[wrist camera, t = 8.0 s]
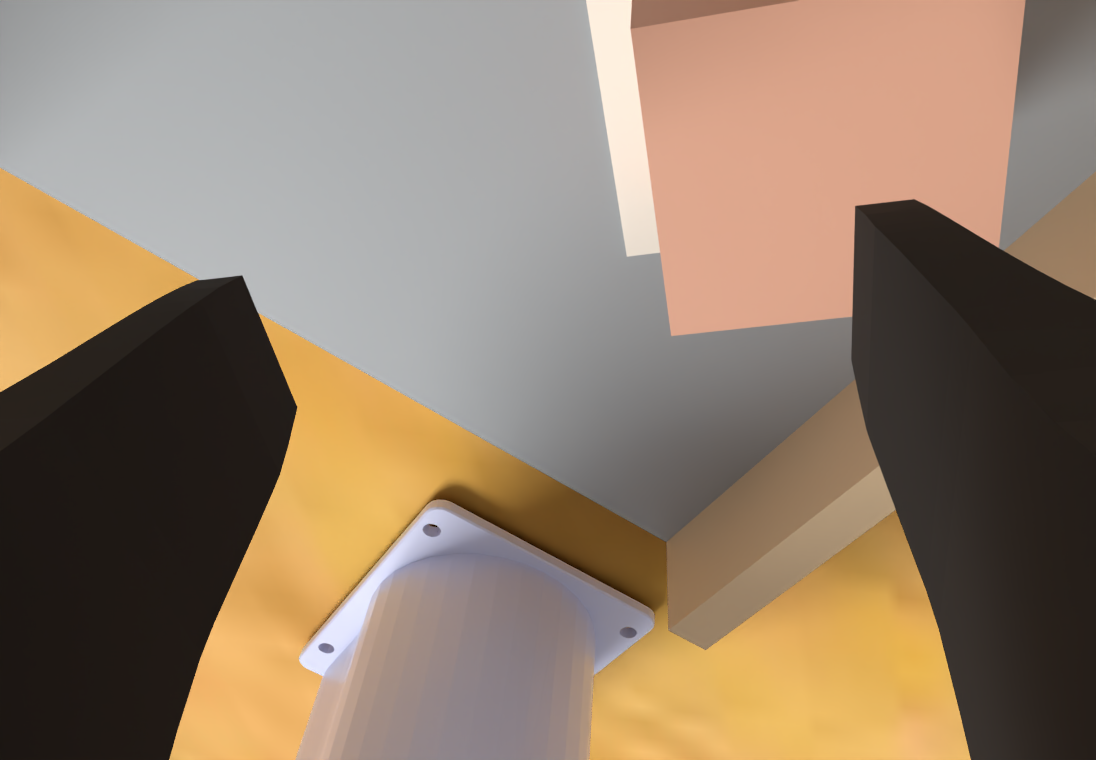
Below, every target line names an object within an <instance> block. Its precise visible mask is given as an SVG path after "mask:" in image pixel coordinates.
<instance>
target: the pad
mask: <svg viewBox="0 0 1096 760" xmlns="http://www.w3.org/2000/svg"><path fill="white" fill-rule="evenodd" d="M586 4H587V10H588V16H589V22H590V29H591V35H592V41H593V47H594V54H595V60H596V66H597V73H598V79H599V85H600V91H601V98H602V104H603V110H604V117H605V123H606V129H607V135H608V142H609V148H610V154H611V160H612V167H613V173H614V179H615V186H616V192H617V198H618V204H619V211H620V217H621V223H622V230H623V236H624V242H625V248H626V255H627V257H629V256H637V255H645V254H653V253H660V248H659V240H658V233H657V225H656V218H655V210H654V203H653V195H652V188H651V180H650V173H649V165H648V157H647V150H646V142H645V135H644V127H643V120H642V112H641V105H640V97H639V90H638V82H637V75H636V67H635V60H634V52H633V45H632V37H631V30H630V27H631V8H632V0H586Z"/></svg>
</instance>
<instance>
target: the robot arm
mask: <svg viewBox="0 0 1096 760" xmlns="http://www.w3.org/2000/svg"><path fill="white" fill-rule="evenodd" d="M851 361H852V366H853V371H854V376H855V380H856V385H857V390H858V395H859V399H860V404H861V408H862V413H863V417H864V421H865V426H866V430H867V433H868V436H869V439H870V442H871V444H872V447H873V450H874V453H875V455H876V458H877V461H878V463H879V466H880V469H881V472H882V474H883V477H884V480H885V482H886V485H887V488H888V490H889V493H890V496H891V498H892V501H893V504H894V506H895V509H896V512H897V514H898V517H899V519H900V522H901V525H902V527H903V530H904V533H905V535H906V538H907V541H908V543H909V546H910V549H911V551H912V554H913V556H914V559H915V562H916V564H917V567H918V570H919V572H920V575H921V578H922V580H923V583H924V586H925V588H926V591H927V594H928V597H929V600H930V603H931V606H932V609H933V613H934V616H935V619H936V622H937V625H938V628H939V632H940V636H941V640H942V644H943V647H944V651H945V655H946V659H947V663H948V667H949V671H950V675H951V679H952V683H953V687H954V691H955V695H956V699H957V703H958V707H959V711H960V715H961V719H962V723H963V728H964V732H965V736H966V740H967V744H968V749H969V753H970V757H971V760H1096V300H1095V299H1093V298H1091V297H1089V296H1087V295H1085V294H1083V293H1081V292H1079V291H1077V290H1075V289H1073V288H1071V287H1069V286H1067V285H1065V284H1063V283H1061V282H1059V281H1057V280H1055V279H1054V278H1052V277H1050V276H1048V275H1046V274H1044V273H1042V272H1040V271H1039V270H1037V269H1035V268H1033V267H1031V266H1030V265H1028V264H1026V263H1024V262H1022V261H1021V260H1019V259H1017V258H1015V257H1014V256H1012V255H1010V254H1008V253H1007V252H1005V251H1003V250H1002V249H1000V248H998V247H996V246H995V245H993V244H991V243H990V242H988V241H986V240H985V239H983V238H981V237H980V236H978V235H976V234H975V233H973V232H971V231H970V230H968V229H966V228H965V227H963V226H961V225H960V224H958V223H956V222H955V221H953V220H951V219H950V218H948V217H946V216H945V215H943V214H941V213H940V212H938V211H936V210H934V209H933V208H931V207H929V206H927V205H925V204H924V203H921V202H919V201H917V200H915V199H911V200H902V201H893V202H885V203H876V204H867V205H858V206H855V231H854V270H853V309H852V348H851ZM296 411H297V406H296V403H295V401H294V399H293V396H292V394H291V391H290V389H289V387H288V384H287V382H286V379H285V377H284V374H283V372H282V370H281V367H280V365H279V362H278V360H277V358H276V355H275V353H274V350H273V348H272V346H271V343H270V341H269V338H268V336H267V333H266V331H265V329H264V326H263V324H262V321H261V319H260V317H259V314H258V312H257V309H256V307H255V305H254V302H253V300H252V297H251V295H250V292H249V290H248V288H247V285H246V283H245V280H244V278H243V276H242V275H241V276H232V277H224V278H215V279H206V280H197V281H195V282H192V283H190V284H187V285H185V286H182V287H180V288H178V289H176V290H174V291H172V292H170V293H168V294H166V295H164V296H162V297H160V298H159V299H157V300H155V301H153V302H151V303H150V304H148V305H146V306H144V307H143V308H141V309H139V310H138V311H136V312H134V313H132V314H131V315H129V316H127V317H126V318H124V319H122V320H121V321H119V322H117V323H116V324H114V325H112V326H111V327H109V328H107V329H106V330H104V331H103V332H101V333H99V334H98V335H96V336H94V337H93V338H91V339H90V340H88V341H86V342H85V343H83V344H81V345H80V346H78V347H76V348H75V349H73V350H72V351H70V352H68V353H67V354H65V355H63V356H62V357H60V358H58V359H57V360H55V361H54V362H52V363H50V364H49V365H47V366H45V367H43V368H42V369H40V370H38V371H36V372H35V373H33V374H31V375H30V376H28V377H26V378H24V379H23V380H21V381H19V382H17V383H16V384H14V385H12V386H10V387H9V388H7V389H5V390H4V391H2V392H0V760H169V758H170V754H171V751H172V747H173V744H174V740H175V737H176V733H177V730H178V726H179V723H180V720H181V717H182V714H183V711H184V708H185V704H186V701H187V698H188V695H189V692H190V689H191V686H192V682H193V679H194V676H195V673H196V670H197V667H198V663H199V660H200V657H201V655H202V652H203V650H204V647H205V645H206V642H207V640H208V637H209V635H210V632H211V629H212V627H213V624H214V622H215V620H216V618H217V615H218V613H219V611H220V609H221V606H222V604H223V602H224V600H225V598H226V595H227V593H228V591H229V589H230V586H231V584H232V582H233V580H234V578H235V575H236V573H237V571H238V569H239V566H240V564H241V562H242V560H243V558H244V555H245V553H246V551H247V549H248V546H249V544H250V542H251V540H252V538H253V535H254V533H255V531H256V529H257V526H258V524H259V522H260V520H261V517H262V515H263V513H264V510H265V508H266V506H267V503H268V501H269V499H270V497H271V494H272V492H273V490H274V487H275V485H276V482H277V480H278V477H279V475H280V472H281V468H282V465H283V461H284V458H285V455H286V451H287V448H288V444H289V440H290V436H291V432H292V427H293V423H294V419H295V415H296ZM428 524H434V525H437V526H438V527H433V526H430V525H428ZM654 623H655V614H654V612H653V610H651V609H650V608H649V607H647V606H645V605H643V604H641V603H639V602H638V601H636V600H634V599H632V598H630V597H628V596H626V595H624V594H623V593H621V592H619V591H617V590H615V589H613V588H611V587H609V586H608V585H606V584H604V583H602V582H600V581H598V580H596V579H595V578H593V577H591V576H589V575H587V574H585V573H583V572H581V571H580V570H578V569H576V568H574V567H572V566H570V565H568V564H566V563H565V562H563V561H561V560H559V559H557V558H555V557H553V556H551V555H550V554H548V553H546V552H544V551H542V550H540V549H538V548H536V547H535V546H533V545H531V544H529V543H527V542H525V541H523V540H521V539H520V538H518V537H516V536H514V535H512V534H510V533H508V532H506V531H505V530H503V529H501V528H499V527H497V526H495V525H493V524H491V523H490V522H488V521H486V520H484V519H482V518H480V517H478V516H476V515H475V514H473V513H471V512H469V511H467V510H465V509H463V508H461V507H460V506H458V505H456V504H454V503H452V502H450V501H447V500H440V499H438V500H434V501H431V502H430V503H428V504H427V505H426V507H425V508H424V509H423V510H422V511H421V512H420V513H419V515H418V516H417V517H416V518H415V519H414V520H413V522H412V523H411V524H410V525H409V526H408V527H407V528H406V530H405V531H404V532H403V533H402V534H401V535H400V537H399V538H398V539H397V540H396V541H395V542H394V543H393V545H392V546H391V547H390V548H389V549H388V550H387V552H386V553H385V554H384V555H383V556H382V557H381V558H380V560H379V561H378V562H377V563H376V564H375V565H374V567H373V568H372V569H371V570H370V571H369V572H368V573H367V575H366V576H365V577H364V578H363V579H362V580H361V582H360V583H359V584H358V585H357V586H356V587H355V588H354V590H353V591H352V592H351V593H350V594H349V595H348V597H347V598H346V599H345V600H344V601H343V602H342V603H341V605H340V606H339V607H338V608H337V609H336V610H335V612H334V613H333V614H332V615H331V616H330V617H329V618H328V620H327V621H326V622H325V623H324V624H323V625H322V627H321V628H320V629H319V630H318V631H317V632H316V633H315V635H314V636H313V637H312V638H311V639H310V640H309V641H308V643H307V644H306V645H305V646H304V647H303V649H302V651H301V654H300V657H299V661H300V663H301V664H302V665H303V667H305V668H307V669H309V670H311V671H313V672H315V673H317V674H320V675H322V676H323V678H322V681H321V684H320V687H319V690H318V693H317V696H316V699H315V702H314V705H313V708H312V711H311V714H310V717H309V720H308V723H307V726H306V729H305V732H304V735H303V738H302V741H301V744H300V747H299V750H298V753H297V756H296V759H295V760H589V754H590V736H591V718H592V699H593V681H594V675H595V674H597V673H598V672H599V671H600V670H602V669H603V668H604V667H605V666H607V665H608V664H609V663H610V662H612V661H613V660H614V659H615V658H617V657H618V656H619V655H621V654H622V653H623V652H624V651H626V650H627V649H628V648H629V647H631V646H632V645H633V644H634V643H636V642H637V641H638V640H639V639H641V638H642V637H643V636H644V635H646V634H647V633H648V632H650V631H651V630H652V629H653V627H654ZM627 627H631V628H627Z"/></svg>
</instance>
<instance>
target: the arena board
mask: <svg viewBox="0 0 1096 760" xmlns="http://www.w3.org/2000/svg"><path fill="white" fill-rule="evenodd" d="M0 168H2V169H3V170H5V171H7V172H9V173H11V174H12V175H14V176H16V177H18V178H19V179H21V180H23V181H25V182H27V183H28V184H30V185H32V186H34V187H35V188H37V189H39V190H41V191H43V192H44V193H46V194H48V195H50V196H51V197H53V198H55V199H57V200H59V201H60V202H62V203H64V204H66V205H67V206H69V207H71V208H73V209H75V210H76V211H78V212H80V213H82V214H83V215H85V216H87V217H89V218H91V219H92V220H94V221H96V222H98V223H99V224H101V225H103V226H105V227H107V228H108V229H110V230H112V231H114V232H115V233H117V234H119V235H121V236H123V237H124V238H126V239H128V240H130V241H131V242H133V243H135V244H137V245H139V246H140V247H142V248H144V249H146V250H147V251H149V252H151V253H153V254H155V255H156V256H158V257H160V258H162V259H163V260H165V261H167V262H169V263H171V264H172V265H174V266H176V267H178V268H180V269H181V270H183V271H185V272H187V273H188V274H190V275H192V276H194V277H196V278H197V279H199V280H206V279H215V278H224V277H232V276H241V275H242V276H243V278H244V280H245V283H246V285H247V288H248V290H249V292H250V295H251V297H252V300H253V302H254V305H255V307H256V309H257V312H258V313H260V314H261V315H263V316H265V317H267V318H268V319H270V320H272V321H274V322H276V323H277V324H279V325H281V326H283V327H284V328H286V329H288V330H290V331H292V332H293V333H295V334H297V335H299V336H300V337H302V338H304V339H306V340H308V341H309V342H311V343H313V344H315V345H316V346H318V347H320V348H322V349H324V350H325V351H327V352H329V353H331V354H332V355H334V356H336V357H338V358H340V359H341V360H343V361H345V362H347V363H348V364H350V365H352V366H354V367H356V368H357V369H359V370H361V371H363V372H364V373H366V374H368V375H370V376H372V377H373V378H375V379H377V380H379V381H381V382H382V383H384V384H386V385H388V386H389V387H391V388H393V389H395V390H397V391H398V392H400V393H402V394H404V395H405V396H407V397H409V398H411V399H413V400H414V401H416V402H418V403H420V404H421V405H423V406H425V407H427V408H429V409H430V410H432V411H434V412H436V413H437V414H439V415H441V416H443V417H445V418H446V419H448V420H450V421H452V422H453V423H455V424H457V425H459V426H461V427H462V428H464V429H466V430H468V431H469V432H471V433H473V434H475V435H477V436H478V437H480V438H482V439H484V440H485V441H487V442H489V443H491V444H493V445H494V446H496V447H498V448H500V449H501V450H503V451H505V452H507V453H509V454H510V455H512V456H514V457H516V458H517V459H519V460H521V461H523V462H525V463H526V464H528V465H530V466H532V467H533V468H535V469H537V470H539V471H541V472H542V473H544V474H546V475H548V476H549V477H551V478H553V479H555V480H557V481H558V482H560V483H562V484H564V485H565V486H567V487H569V488H571V489H573V490H574V491H576V492H578V493H580V494H582V495H583V496H585V497H587V498H589V499H590V500H592V501H594V502H596V503H598V504H599V505H601V506H603V507H605V508H606V509H608V510H610V511H612V512H614V513H615V514H617V515H619V516H621V517H622V518H624V519H626V520H628V521H630V522H631V523H633V524H635V525H637V526H638V527H640V528H642V529H644V530H646V531H647V532H649V533H651V534H653V535H654V536H656V537H658V538H660V539H662V540H663V541H665V542H666V549H667V593H668V630H669V631H671V632H672V633H674V634H676V635H678V636H680V637H682V638H684V639H686V640H688V641H689V642H691V643H693V644H695V645H697V646H699V647H701V648H703V649H705V650H706V649H708V648H709V647H710V646H712V645H713V644H714V643H716V642H717V641H719V640H720V639H721V638H723V637H724V636H725V635H727V634H728V633H729V632H731V631H732V630H733V629H735V628H736V627H738V626H739V625H740V624H742V623H743V622H744V621H746V620H747V619H748V618H750V617H751V616H752V615H754V614H755V613H757V612H758V611H759V610H761V609H762V608H763V607H765V606H766V605H767V604H769V603H770V602H771V601H773V600H774V599H776V598H777V597H778V596H780V595H781V594H782V593H784V592H785V591H786V590H788V589H789V588H790V587H792V586H793V585H795V584H796V583H797V582H799V581H800V580H801V579H803V578H804V577H805V576H807V575H808V574H809V573H811V572H812V571H813V570H815V569H816V568H818V567H819V566H820V565H822V564H823V563H824V562H826V561H827V560H828V559H830V558H831V557H832V556H834V555H835V554H837V553H838V552H839V551H841V550H842V549H843V548H845V547H846V546H847V545H849V544H850V543H851V542H853V541H854V540H856V539H857V538H858V537H860V536H861V535H862V534H864V533H865V532H866V531H868V530H869V529H870V528H872V527H873V526H875V525H876V524H877V523H879V522H880V521H881V520H883V519H884V518H885V517H887V516H888V515H889V514H891V513H892V512H894V511H895V510H896V509H895V506H894V504H893V501H892V498H891V496H890V493H889V490H888V488H887V485H886V482H885V480H884V477H883V474H882V472H881V469H880V466H879V463H878V461H877V458H876V455H875V453H874V450H873V447H872V444H871V442H870V439H869V436H868V433H867V430H866V426H865V421H864V417H863V413H862V408H861V404H860V399H859V395H858V390H857V385H856V380H855V376H854V371H853V366H852V361H851V348H852V317H844V318H834V319H825V320H816V321H806V322H797V323H788V324H779V325H769V326H760V327H751V328H742V329H732V330H723V331H714V332H705V333H695V334H686V335H677V336H671V330H670V323H669V315H668V308H667V300H666V293H665V285H664V278H663V270H662V263H661V255H660V253H653V254H645V255H637V256H629V257H627V255H626V248H625V242H624V236H623V230H622V223H621V217H620V211H619V204H618V198H617V192H616V186H615V179H614V173H613V167H612V160H611V154H610V148H609V142H608V135H607V129H606V123H605V117H604V110H603V104H602V98H601V91H600V85H599V79H598V73H597V66H596V60H595V54H594V47H593V41H592V35H591V29H590V22H589V16H588V10H587V4H586V0H0ZM999 248H1000V249H1002V250H1003V251H1005V252H1007V253H1008V254H1010V255H1012V256H1014V257H1015V258H1017V259H1019V260H1021V261H1022V262H1024V263H1026V264H1028V265H1030V266H1031V267H1033V268H1035V269H1037V270H1039V271H1040V272H1042V273H1044V274H1046V275H1048V276H1050V277H1052V278H1054V279H1055V280H1057V281H1059V282H1061V283H1063V284H1065V285H1067V286H1069V287H1071V288H1073V289H1075V290H1077V291H1079V292H1081V293H1083V294H1085V295H1087V296H1089V297H1091V298H1093V299H1095V300H1096V0H1025V9H1024V19H1023V28H1022V37H1021V47H1020V56H1019V65H1018V75H1017V84H1016V93H1015V102H1014V112H1013V121H1012V130H1011V140H1010V149H1009V158H1008V168H1007V177H1006V186H1005V196H1004V205H1003V214H1002V224H1001V233H1000V242H999Z"/></svg>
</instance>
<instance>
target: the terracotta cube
mask: <svg viewBox="0 0 1096 760" xmlns="http://www.w3.org/2000/svg"><path fill="white" fill-rule="evenodd" d="M1024 9H1025V0H632V8H631V27H630V30H631V37H632V45H633V52H634V60H635V67H636V75H637V82H638V90H639V97H640V105H641V112H642V120H643V127H644V135H645V142H646V150H647V157H648V165H649V173H650V180H651V188H652V195H653V203H654V210H655V218H656V225H657V233H658V240H659V248H660V255H661V263H662V270H663V278H664V285H665V293H666V300H667V308H668V315H669V323H670V330H671V336H677V335H686V334H695V333H705V332H714V331H723V330H732V329H742V328H751V327H760V326H769V325H779V324H788V323H797V322H806V321H816V320H825V319H834V318H844V317H852V309H853V270H854V231H855V206H858V205H867V204H876V203H885V202H893V201H902V200H911V199H915V200H917V201H919V202H921V203H924V204H925V205H927V206H929V207H931V208H933V209H934V210H936V211H938V212H940V213H941V214H943V215H945V216H946V217H948V218H950V219H951V220H953V221H955V222H956V223H958V224H960V225H961V226H963V227H965V228H966V229H968V230H970V231H971V232H973V233H975V234H976V235H978V236H980V237H981V238H983V239H985V240H986V241H988V242H990V243H991V244H993V245H995V246H996V247H998V248H999V242H1000V233H1001V224H1002V214H1003V205H1004V196H1005V186H1006V177H1007V168H1008V158H1009V149H1010V140H1011V130H1012V121H1013V112H1014V102H1015V93H1016V84H1017V75H1018V65H1019V56H1020V47H1021V37H1022V28H1023V19H1024Z"/></svg>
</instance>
